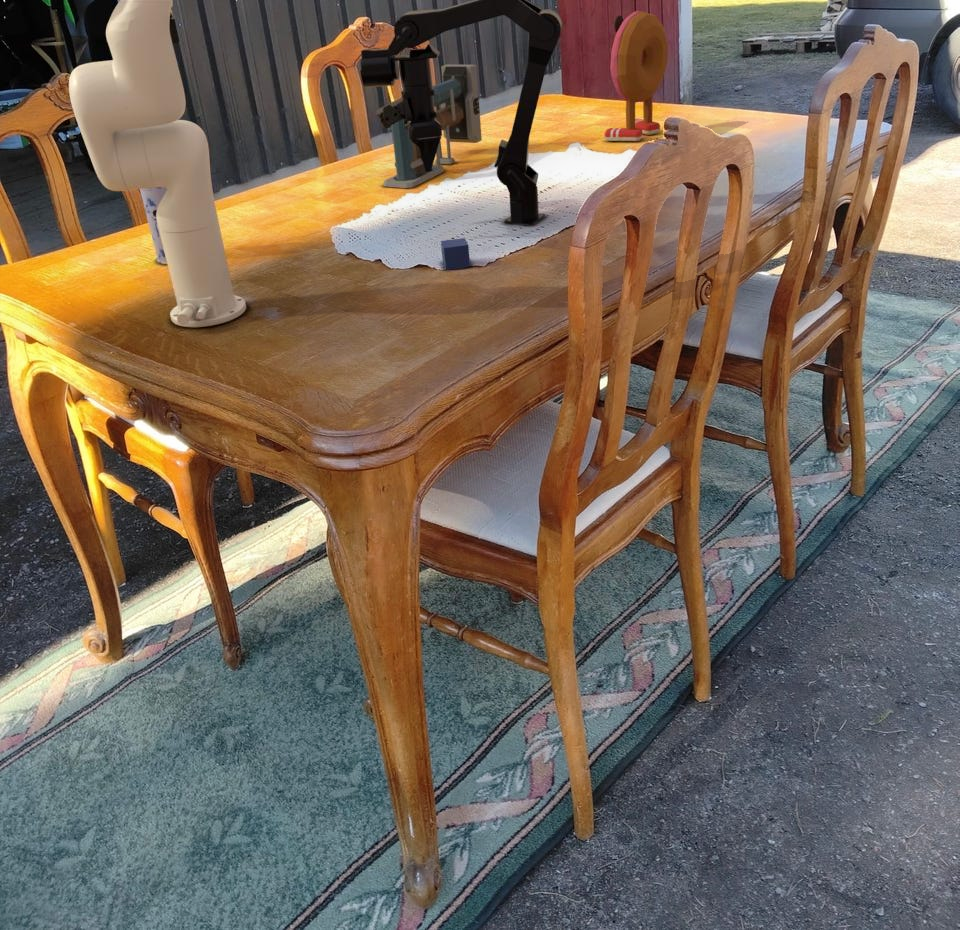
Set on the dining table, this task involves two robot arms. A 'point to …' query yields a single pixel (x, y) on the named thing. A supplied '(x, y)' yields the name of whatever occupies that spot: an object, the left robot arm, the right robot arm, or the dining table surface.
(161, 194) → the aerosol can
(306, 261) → the dining table surface
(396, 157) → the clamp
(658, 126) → the toy
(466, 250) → the block
